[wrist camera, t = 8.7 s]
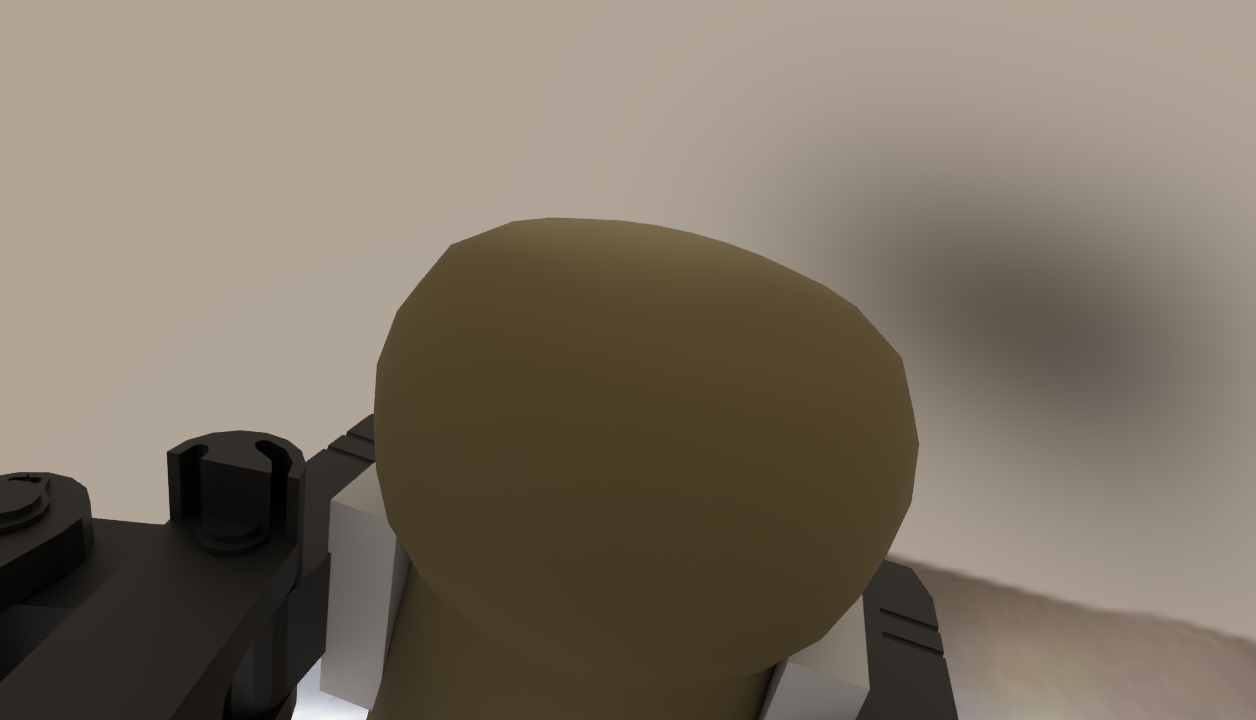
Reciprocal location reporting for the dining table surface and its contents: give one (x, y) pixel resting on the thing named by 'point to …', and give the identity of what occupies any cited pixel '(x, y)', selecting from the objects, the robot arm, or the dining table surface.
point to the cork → (627, 474)
